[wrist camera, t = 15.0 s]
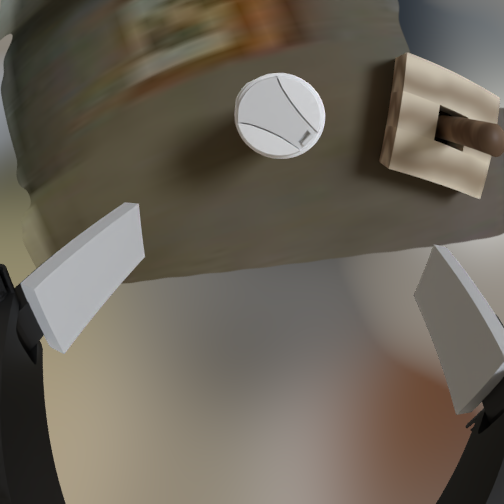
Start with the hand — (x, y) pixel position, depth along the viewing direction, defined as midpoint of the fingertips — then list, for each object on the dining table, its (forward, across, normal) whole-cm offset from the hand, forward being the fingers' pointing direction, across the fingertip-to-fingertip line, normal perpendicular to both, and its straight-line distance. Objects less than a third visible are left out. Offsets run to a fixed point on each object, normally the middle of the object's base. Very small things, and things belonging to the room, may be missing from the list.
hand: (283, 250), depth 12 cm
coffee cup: (+30, -2, +5) cm, 30 cm away
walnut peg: (+30, +20, +8) cm, 37 cm away
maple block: (+29, +20, +8) cm, 37 cm away
